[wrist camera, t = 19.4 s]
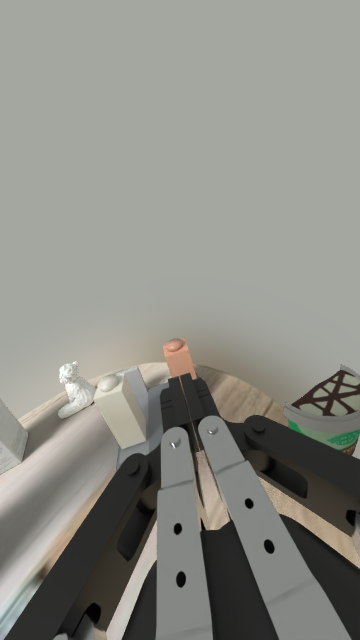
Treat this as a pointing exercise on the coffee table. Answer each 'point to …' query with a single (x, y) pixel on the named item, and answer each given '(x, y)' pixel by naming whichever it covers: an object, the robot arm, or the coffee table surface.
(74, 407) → the sitting furry creature
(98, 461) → the coffee table surface
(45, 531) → the coffee table surface
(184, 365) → the terracotta plug
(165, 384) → the grey holder stand
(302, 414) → the food container
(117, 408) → the cream plug
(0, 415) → the skincare box
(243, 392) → the coffee table surface
